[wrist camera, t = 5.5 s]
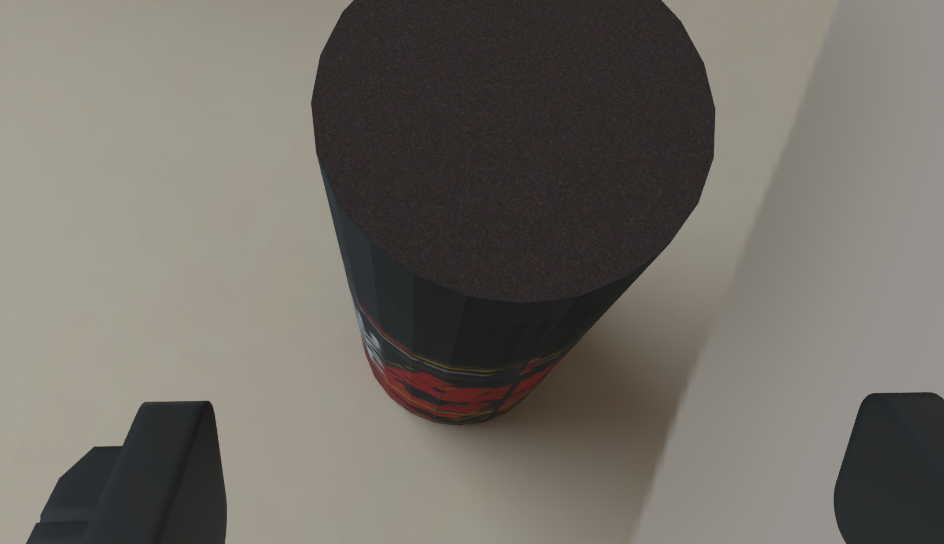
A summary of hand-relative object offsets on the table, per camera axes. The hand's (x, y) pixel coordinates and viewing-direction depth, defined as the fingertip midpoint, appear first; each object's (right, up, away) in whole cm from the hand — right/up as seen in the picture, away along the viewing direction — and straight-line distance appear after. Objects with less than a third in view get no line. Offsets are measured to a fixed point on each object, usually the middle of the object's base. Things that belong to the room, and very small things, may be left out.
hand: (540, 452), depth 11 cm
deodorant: (-1, 0, +16) cm, 16 cm away
